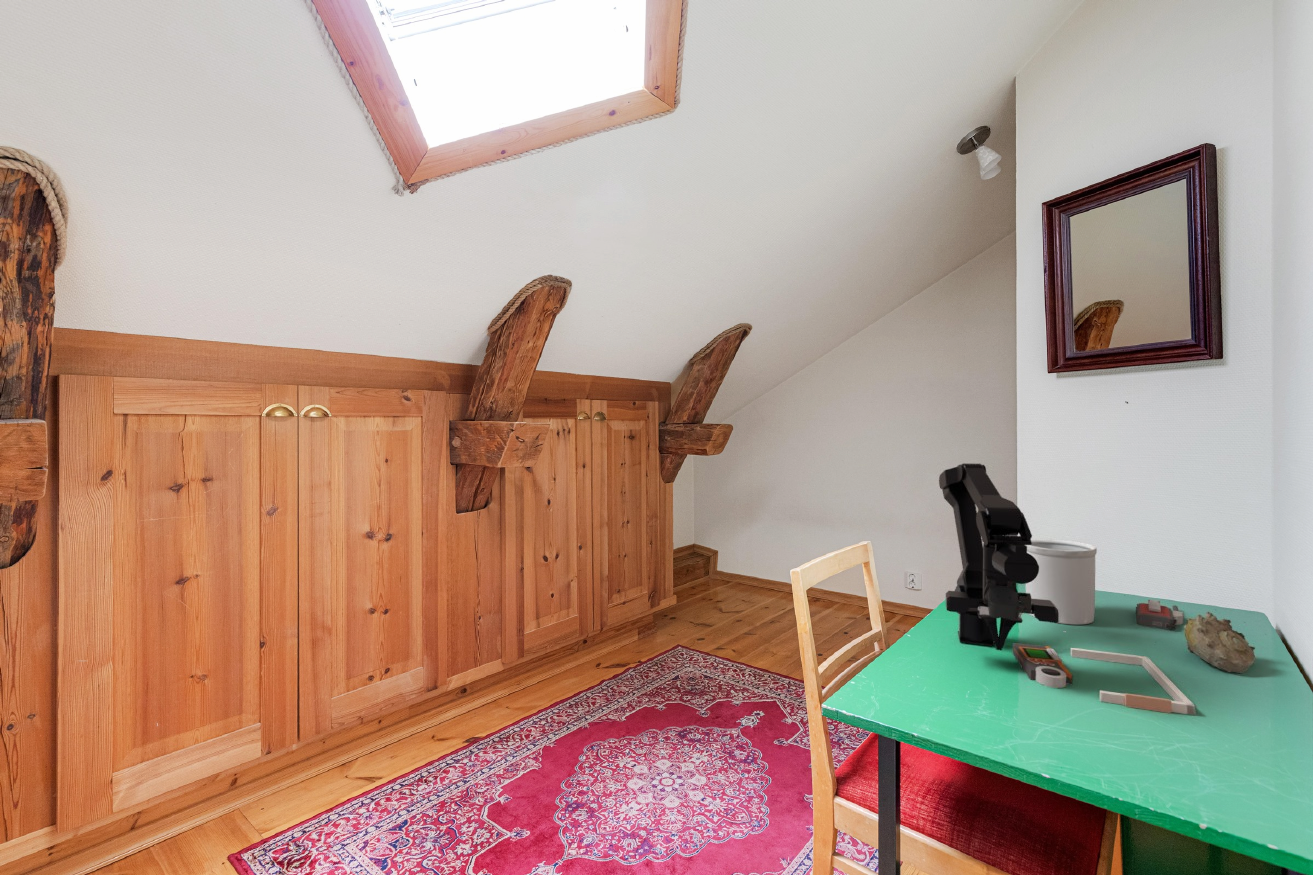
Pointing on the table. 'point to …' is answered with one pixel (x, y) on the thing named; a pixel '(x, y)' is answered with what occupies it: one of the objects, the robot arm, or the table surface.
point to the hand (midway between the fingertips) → (998, 649)
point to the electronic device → (1042, 665)
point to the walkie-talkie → (1158, 615)
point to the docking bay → (1138, 701)
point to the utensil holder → (1065, 578)
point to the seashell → (1219, 643)
